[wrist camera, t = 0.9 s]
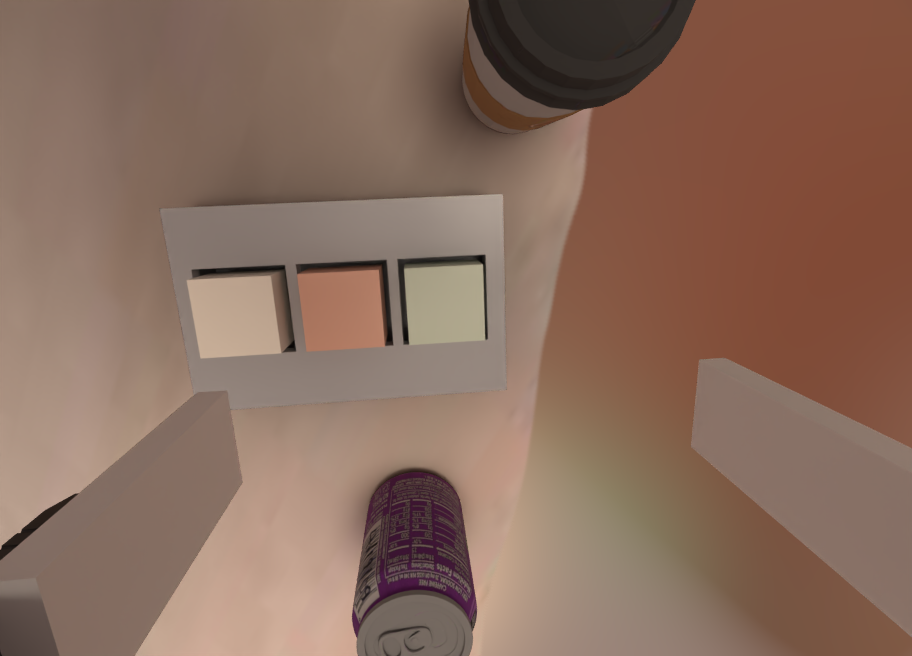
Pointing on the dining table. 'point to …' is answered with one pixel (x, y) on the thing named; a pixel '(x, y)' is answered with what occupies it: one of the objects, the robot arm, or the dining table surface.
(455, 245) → the keypad
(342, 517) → the dining table surface
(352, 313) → the key terracotta
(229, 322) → the key cream
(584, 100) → the coffee cup
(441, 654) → the beverage can
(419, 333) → the key sage
